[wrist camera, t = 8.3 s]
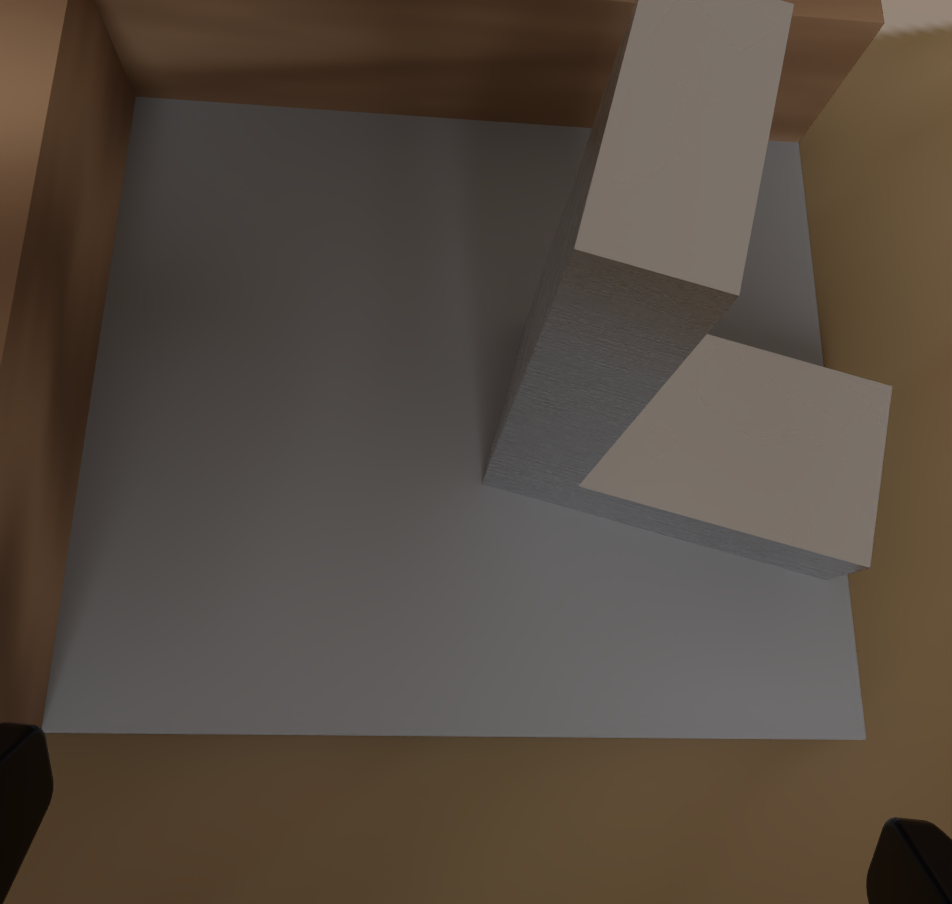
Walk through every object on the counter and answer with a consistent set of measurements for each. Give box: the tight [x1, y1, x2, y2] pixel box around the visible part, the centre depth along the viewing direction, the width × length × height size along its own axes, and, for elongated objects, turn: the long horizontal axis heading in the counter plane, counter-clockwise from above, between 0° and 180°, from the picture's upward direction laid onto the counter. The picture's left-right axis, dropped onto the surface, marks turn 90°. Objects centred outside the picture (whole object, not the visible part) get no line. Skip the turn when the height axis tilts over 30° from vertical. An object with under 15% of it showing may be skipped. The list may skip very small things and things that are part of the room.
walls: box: [0, 0, 884, 728], centre depth 17 cm, size 16×18×4 cm
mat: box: [41, 97, 866, 740], centre depth 20 cm, size 16×18×1 cm
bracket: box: [482, 0, 892, 580], centre depth 14 cm, size 4×8×10 cm, turn 75°
